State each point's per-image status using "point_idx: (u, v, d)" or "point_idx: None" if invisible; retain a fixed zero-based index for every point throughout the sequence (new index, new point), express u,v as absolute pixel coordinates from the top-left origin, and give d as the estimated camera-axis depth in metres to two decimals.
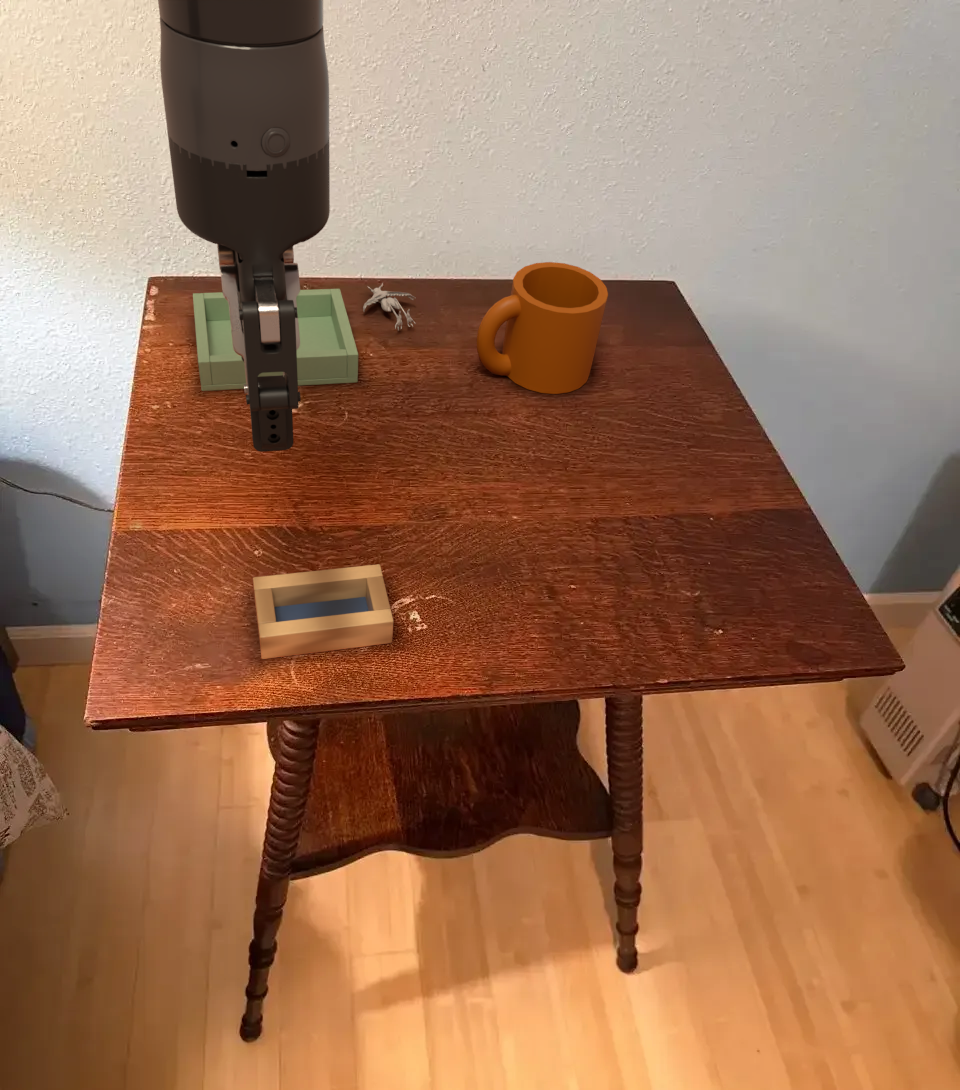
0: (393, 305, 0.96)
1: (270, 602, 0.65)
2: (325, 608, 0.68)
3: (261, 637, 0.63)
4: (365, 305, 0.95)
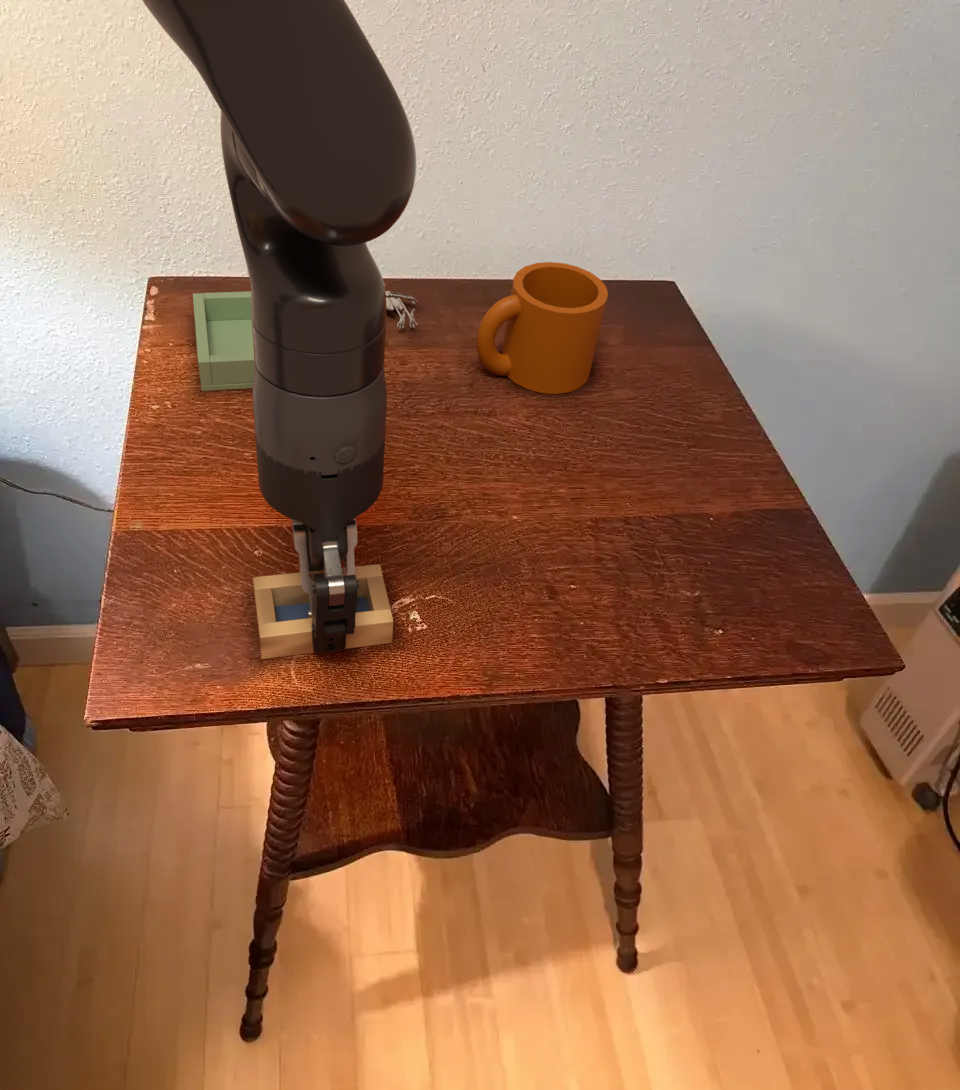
0: (395, 305, 0.96)
1: (270, 602, 0.65)
2: None
3: (261, 637, 0.63)
4: None
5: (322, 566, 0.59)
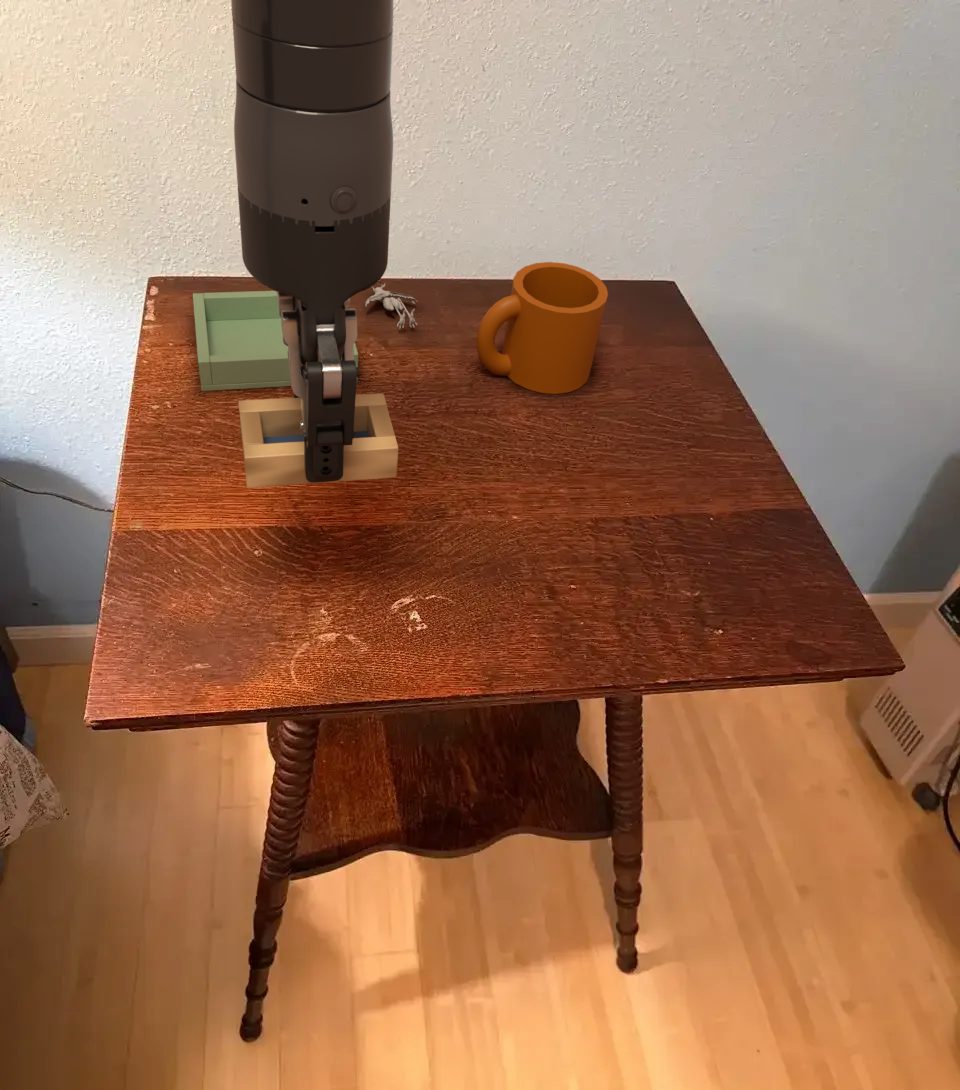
0: (395, 305, 0.96)
1: (257, 424, 0.57)
2: None
3: (246, 458, 0.55)
4: (368, 300, 0.95)
5: None
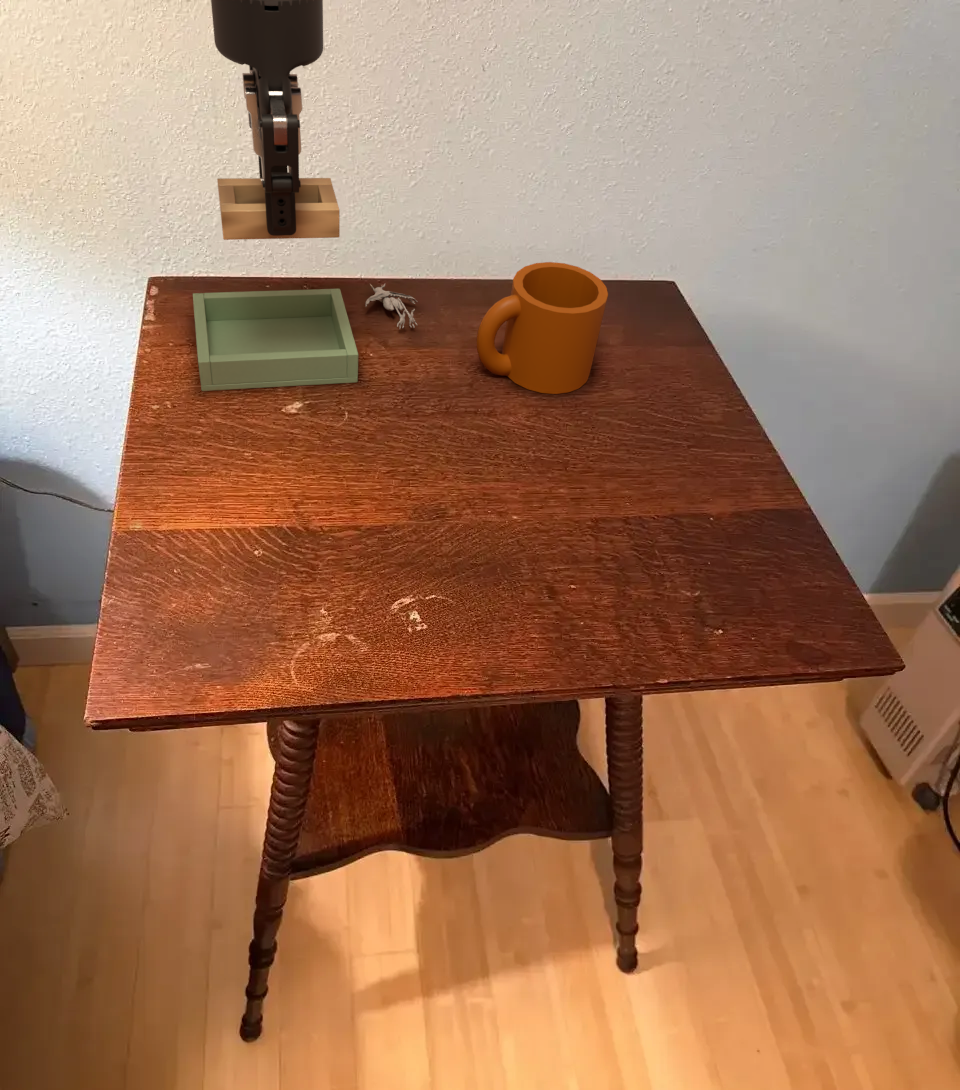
0: (395, 305, 0.96)
1: (231, 192, 0.74)
2: None
3: (222, 211, 0.72)
4: (368, 300, 0.95)
5: None
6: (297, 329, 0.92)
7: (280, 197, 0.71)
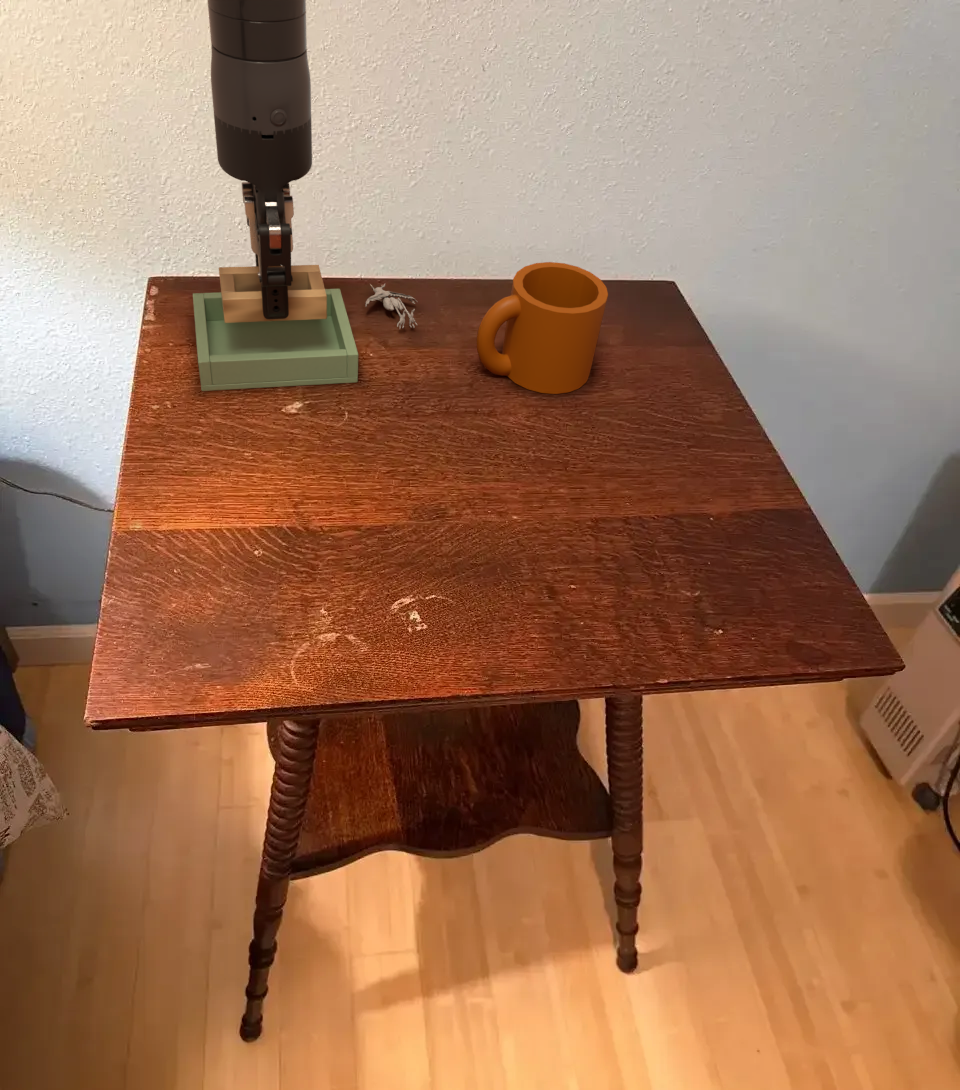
0: (395, 305, 0.96)
1: (231, 281, 0.84)
2: None
3: (223, 299, 0.82)
4: (368, 300, 0.95)
5: None
6: (297, 329, 0.92)
7: (274, 288, 0.81)
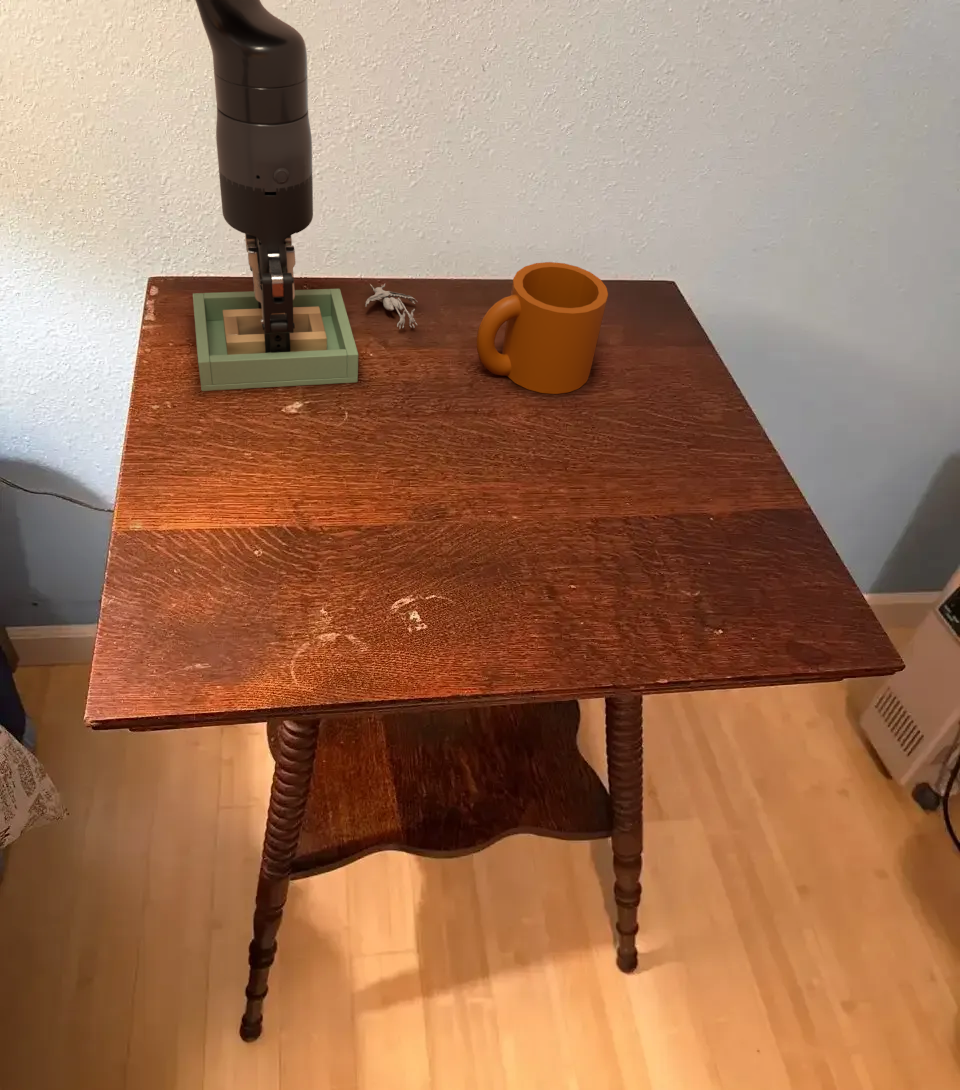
0: (395, 305, 0.96)
1: (235, 324, 0.87)
2: None
3: (227, 342, 0.85)
4: (368, 300, 0.95)
5: None
6: None
7: (277, 334, 0.84)
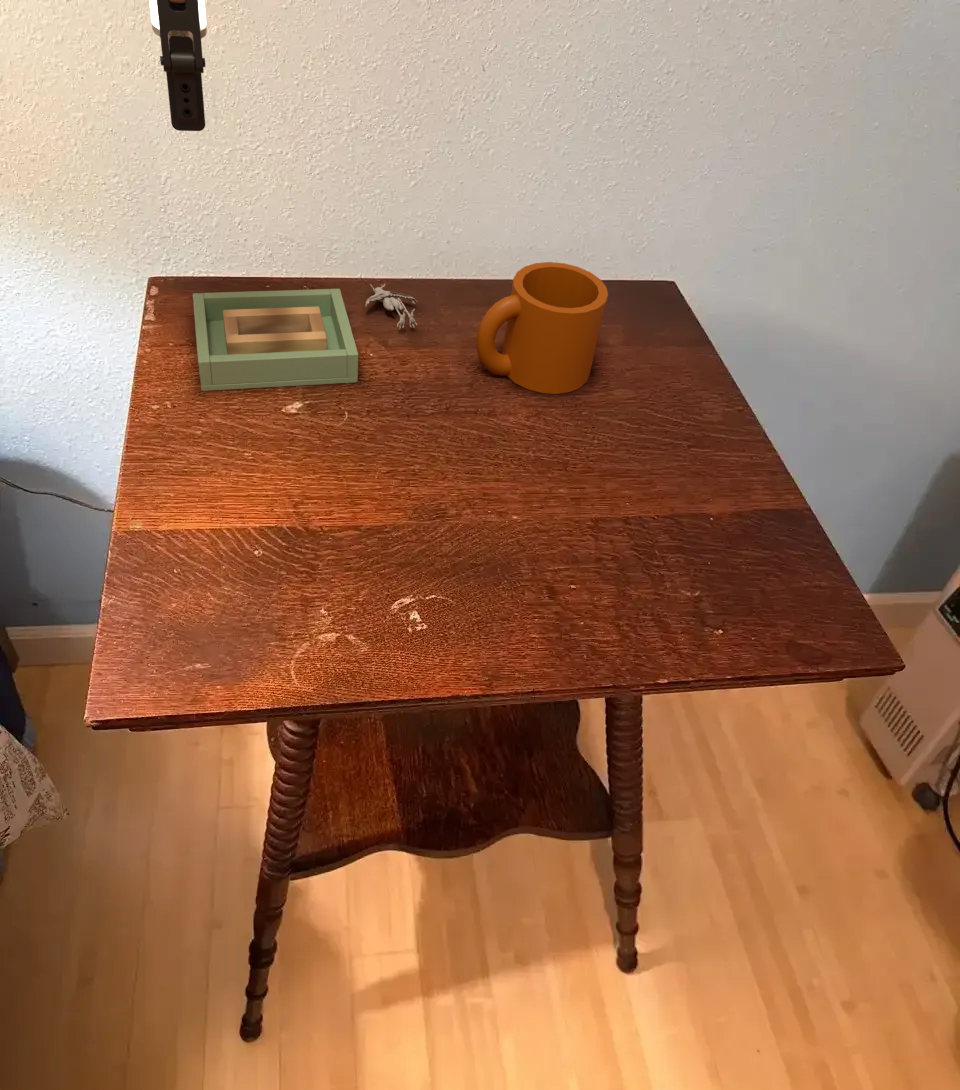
0: (395, 305, 0.96)
1: (235, 324, 0.87)
2: None
3: (227, 342, 0.85)
4: (368, 300, 0.95)
5: (171, 3, 0.61)
6: None
7: (184, 81, 0.62)
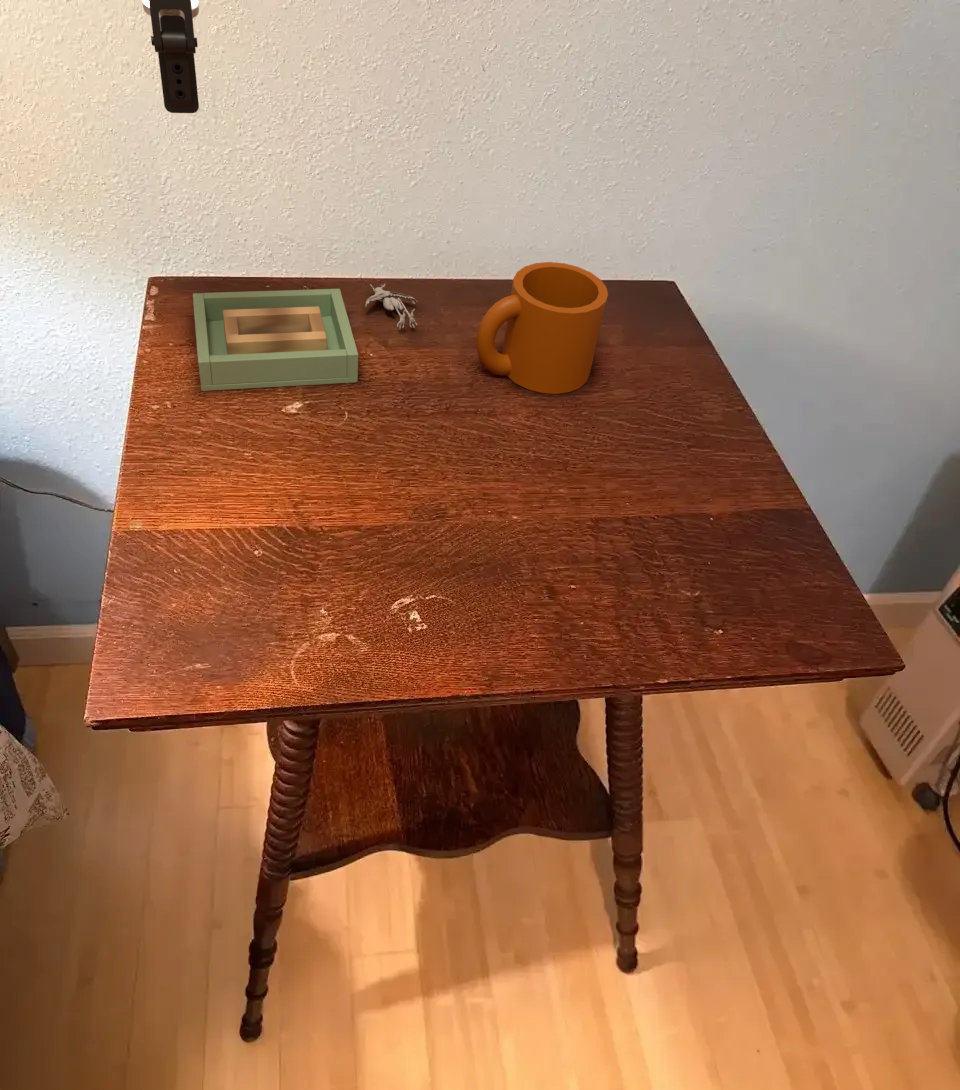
0: (395, 305, 0.96)
1: (235, 324, 0.87)
2: None
3: (227, 342, 0.85)
4: (368, 300, 0.95)
5: None
6: None
7: (176, 62, 0.60)
